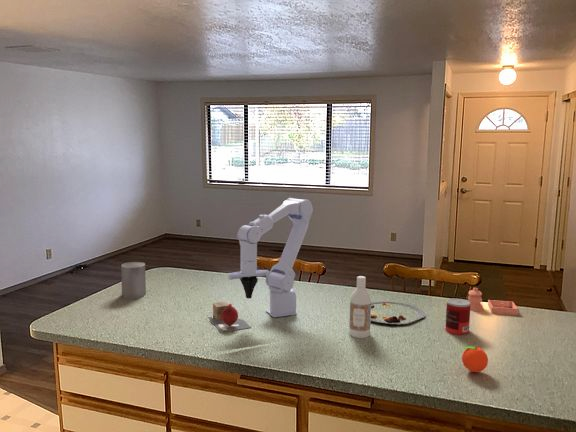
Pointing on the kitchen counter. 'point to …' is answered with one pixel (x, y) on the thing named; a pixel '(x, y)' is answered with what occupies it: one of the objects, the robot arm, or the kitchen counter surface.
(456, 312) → the canned food
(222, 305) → the walnut block
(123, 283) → the pillar candle
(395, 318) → the food plate
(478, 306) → the pottery
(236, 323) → the letter mat
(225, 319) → the onion
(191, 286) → the kitchen counter surface
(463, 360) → the clementine
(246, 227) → the robot arm
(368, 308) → the bath foam
